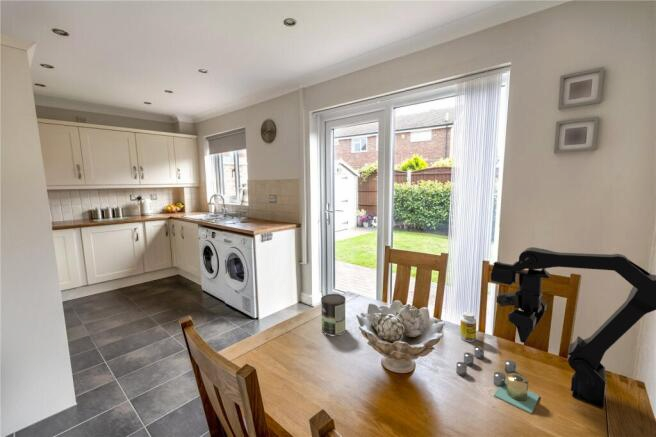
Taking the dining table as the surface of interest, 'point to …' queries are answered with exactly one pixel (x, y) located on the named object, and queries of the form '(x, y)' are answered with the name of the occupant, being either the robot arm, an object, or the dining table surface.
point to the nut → (517, 387)
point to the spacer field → (479, 354)
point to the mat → (523, 405)
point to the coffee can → (333, 314)
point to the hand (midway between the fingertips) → (526, 336)
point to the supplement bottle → (468, 327)
